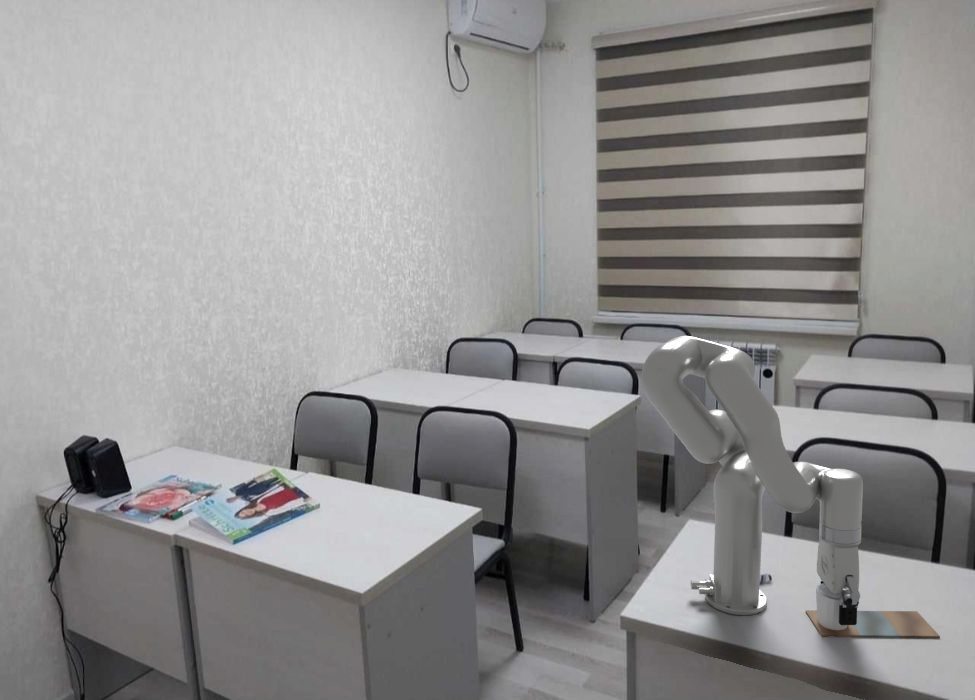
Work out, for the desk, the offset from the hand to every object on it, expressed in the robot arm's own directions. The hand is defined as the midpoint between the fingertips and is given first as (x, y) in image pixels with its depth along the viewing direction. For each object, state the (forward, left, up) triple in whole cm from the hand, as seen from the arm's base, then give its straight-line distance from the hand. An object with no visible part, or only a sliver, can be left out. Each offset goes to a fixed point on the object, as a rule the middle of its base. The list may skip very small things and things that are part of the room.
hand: (837, 611), depth 151 cm
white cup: (-1, 0, -3) cm, 3 cm away
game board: (+7, 0, -3) cm, 7 cm away
